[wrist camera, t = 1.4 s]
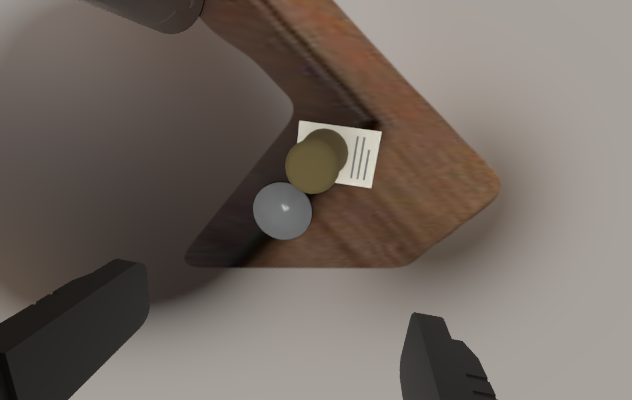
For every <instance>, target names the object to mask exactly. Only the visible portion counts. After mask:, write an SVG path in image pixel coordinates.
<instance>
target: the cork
mask: <svg viewBox="0 0 632 400" xmlns="http://www.w3.org/2000/svg"><path fill="white" fill-rule="evenodd" d="M347 158H348V146H347V144H346V142H345V140H344V138H343V137H342V136H341V135H340V134H339V133H337V132H335V131H334V130H331V129H326V128H323V129H317V130H315V131H313V132H311V133H309V134H308V135H307V136H306V137H305V138H304V140H303V141H301V142H299V143H297V144H295V145H294V147H293V148H292V149H291V150H290V151H289V153H288V155H287V157H286V164H285V169H286V175H287V177H288V179H289V181H290V183H291V184H292V185H293V186H294V187H295V188H296V189H298V190H300V191H302V192H304V193H309V194H315V193H321V192H323V191H325V190H328V189H329V188H330V187H331V186H332V185H333V184H334V183H335V181H336V180H337V178H338V175H339V171H340V170H342V169H343V168H344V166H345V164H346V162H347Z"/></svg>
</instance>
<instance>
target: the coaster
mask: <svg viewBox="0 0 632 400" xmlns="http://www.w3.org/2000/svg"><path fill="white" fill-rule="evenodd" d="M253 212H254V217H255V220H256V222H257V224H258V225H259V227H260V228H261V229H262V230H263V231H264V232H265V233H266V234H268V235H269V236H271V237H274V238H277V239H283V240H287V239H293V238H296V237H298V236H300V235H301V234H302V233H304V231H305V230H306V229H307V228H308V226H309V224H310V222H311V219H312V205H311V202H310V200H309V198H308V196H307V195H306V193H304V192H302V191H300V190H298V189H296V188H295V187H294V186H293V185H292V184H291V183H288V182H275V183H271V184H269V185H267V186H266V187H264V188H263V189H262V190H261V191H260V192H259V193H258V195H257V196H256V198H255V201H254V205H253Z"/></svg>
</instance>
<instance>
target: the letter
mask: <svg viewBox="0 0 632 400" xmlns="http://www.w3.org/2000/svg"><path fill="white" fill-rule="evenodd" d="M323 128H326V129H331V130H334V131H335V132H337V133H339V134H340V135H341V136H342V137H343V138H344V140H345V142H346V144H347V146H348V158H347V162H346V164H345V166H344V168H343V169H342V170H340V171H339V175H338V178H337V180H336V181H335V183H341V184H347V185H353V186H360V187H366V188H371V187H372V181H373V176H374V171H375V166H376V160H377V155H378V150H379V144H380V139H381V134H382V132H380V131H373V130H365V129H358V128H351V127H343V126H336V125H329V124H321V123H314V122H307V121H299V131H298V140H297V143H299V142H301V141H303V140H304V138H305V137H306V136H307V135H308V134H309V133H311V132H313V131H315V130H317V129H323Z"/></svg>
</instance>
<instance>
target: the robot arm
mask: <svg viewBox="0 0 632 400" xmlns="http://www.w3.org/2000/svg"><path fill="white" fill-rule="evenodd" d="M80 1H82V2H85V3H88V4H90V5H93V6H95V7H98V8H100V9H103V10H105V11H108V12H111V13H113V14H116V15H118V16H121V17H123V18H126V19H129V20H131V21H134V22H136V23H138V24H141V25H143V26H146V27H149V28H151V29H154V30H157V31H159V32H162V33H166V34H176V33H180V32H182V31H185V30H186V29H188V28H189V27H190V26H192V25H193V23H194V22H195V21H196V20H197V18H198V16H199V14H200V12H201V10H202V6H203V3H204V0H80ZM149 307H150V306H149V292H148V280H147V269H146V267H145V265H144V264H143V263H139V262H134V261H128V260H123V259H115V260H112V261H111V262H109V263H107V264H106V265H104V266H102V267H101V268H100V269H98V270H96V271H94V272H93V273H90V274H88V275H86V276H82V277H80V278H77V279H75V280H72V281H70V282H69V283H67V284H65V285H64V286H62V287H60V288H59V289H57V290H55V291H54V292H53V294H52V295H51V294H49V295H47V296H45V297H43V298H42V299H40V300H38V301H37V302H36V304H35V305H33V304H32V305H30V306H28V307H27V308H25V309H23V310H22V311H20V312H18V313H17V314H15V315H14V316H12V317H10V318H8V319H7V320H5V321H3V322H2V323H0V400H68V399H69V398H70V397H71V396H72V395H73V394H74V393H75V392H76V391H77V390H78V389H79V388H80V387H81V386H82V385H83V384H84V383H85V382H86V381H87V380H88V379H89V378H90V377H91V376H92V375H93V374H94V373H95V372H96V371H97V370H98V369H99V368H100V367H101V366H102V365H103V364H104V363H105V362H106V361H107V360H108V359H109V358H110V357H111V356H112V355H113V354H114V353H115V352H116V351H117V350H118V349H119V348H120V347H121V346H122V345H123V344H124V343H125V342H126V341H127V340H128V339H129V338H130V337H131V336H132V335H133V334H134V333H135V332H136V331H137V330H138V329H139V328H140V327H141V326H142V325H143V323H144V322H145V320H146V318H147V316H148V313H149ZM400 382H401V389H402V396H403V400H497V399H496V398H495V393H494V391H493V389H492V386H491V384H490V382H488V381H487V376H486V374H485V372H484V370H483V368H482V365H481V363H480V361H479V359H478V358H477V357H476V356H475V354H474V353H473V352H472V351H471V350H470V349H469V348H468V347H467V346H466V344H465V343H464V342H463V341H459V340H453V339H451V336H450V334H449V332H448V329H447V326H446V324H445V321H444V319H443V318H442V317H437V316H432V315H426V314H421V313H415V312H414V313H413V314H412V315H411V318H410V322H409V326H408V330H407V334H406V338H405V342H404V346H403V350H402V355H401V361H400Z"/></svg>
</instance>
